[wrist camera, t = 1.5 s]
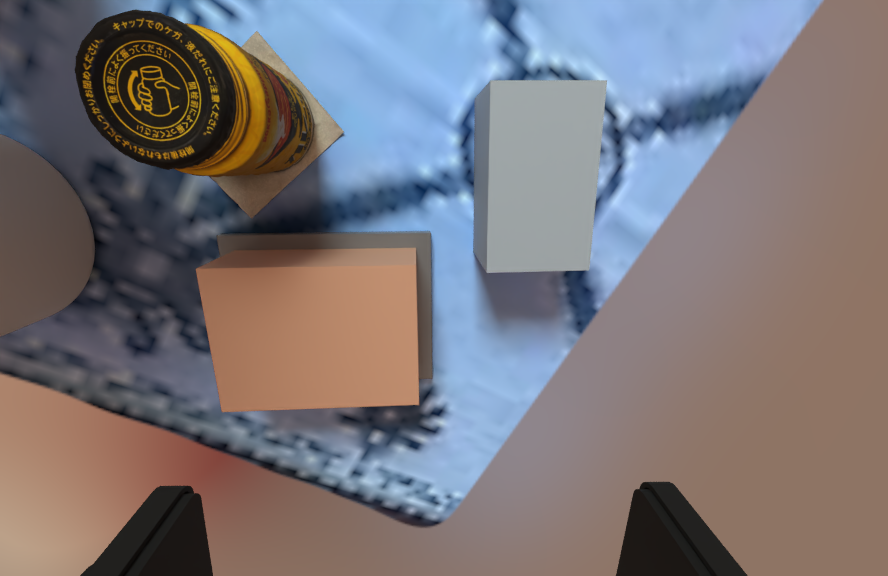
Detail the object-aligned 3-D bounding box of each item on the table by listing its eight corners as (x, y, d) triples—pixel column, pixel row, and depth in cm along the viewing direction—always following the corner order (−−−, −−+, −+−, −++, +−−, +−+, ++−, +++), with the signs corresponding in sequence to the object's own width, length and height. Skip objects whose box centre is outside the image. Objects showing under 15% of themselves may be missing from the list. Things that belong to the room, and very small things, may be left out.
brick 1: (253, 372, 30) (221, 412, 25) (234, 250, 27) (195, 268, 22) (418, 367, 30) (418, 404, 26) (415, 247, 28) (415, 265, 23)
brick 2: (474, 98, 26) (490, 80, 21) (566, 98, 27) (606, 80, 21) (473, 251, 29) (486, 273, 24) (555, 249, 30) (588, 270, 24)
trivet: (222, 233, 28) (216, 235, 27) (430, 231, 28) (430, 233, 28) (245, 379, 31) (240, 385, 30) (431, 373, 32) (432, 378, 31)
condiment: (344, 132, 26) (289, 106, 15) (252, 218, 27) (134, 257, 16) (258, 31, 24) (118, -86, 13) (163, 129, 26) (-43, 100, 14)
